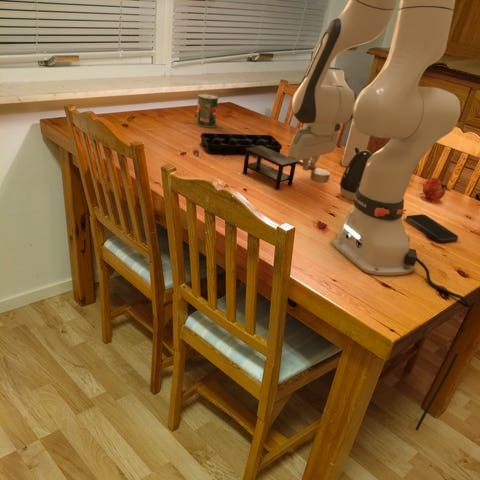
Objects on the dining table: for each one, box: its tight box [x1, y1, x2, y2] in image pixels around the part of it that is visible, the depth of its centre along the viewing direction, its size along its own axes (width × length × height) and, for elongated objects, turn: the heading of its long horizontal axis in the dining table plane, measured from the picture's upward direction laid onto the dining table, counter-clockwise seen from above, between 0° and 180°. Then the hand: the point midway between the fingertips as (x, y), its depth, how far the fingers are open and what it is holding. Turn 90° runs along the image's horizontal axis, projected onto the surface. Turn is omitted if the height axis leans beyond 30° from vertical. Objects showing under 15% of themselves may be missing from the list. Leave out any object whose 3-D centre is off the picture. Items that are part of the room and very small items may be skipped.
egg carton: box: [200, 132, 283, 156], centre depth 177 cm, size 18×30×4 cm, turn 120°
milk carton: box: [341, 119, 371, 168], centre depth 174 cm, size 7×7×19 cm
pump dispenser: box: [339, 148, 373, 202], centre depth 149 cm, size 10×10×15 cm
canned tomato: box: [195, 92, 219, 128], centre depth 194 cm, size 8×8×11 cm
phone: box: [405, 213, 459, 244], centre depth 141 cm, size 8×1×15 cm
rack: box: [242, 145, 298, 190], centre depth 155 cm, size 16×8×8 cm, turn 45°
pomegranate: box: [421, 177, 448, 202], centre depth 160 cm, size 7×7×10 cm
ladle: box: [289, 160, 331, 184], centre depth 155 cm, size 15×6×3 cm, turn 45°
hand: (308, 169), depth 155 cm, fingers closed on ladle
